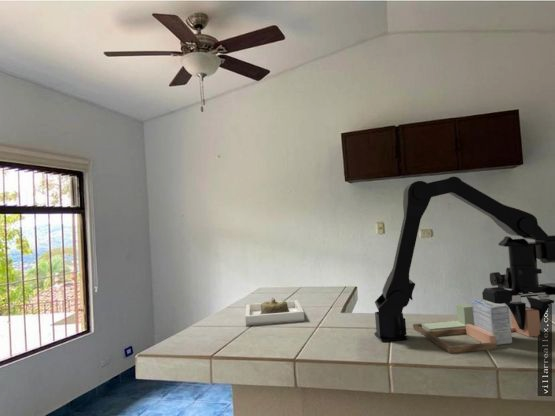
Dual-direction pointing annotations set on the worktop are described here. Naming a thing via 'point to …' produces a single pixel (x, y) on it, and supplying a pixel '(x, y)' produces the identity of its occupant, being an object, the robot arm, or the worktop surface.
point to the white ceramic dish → (273, 314)
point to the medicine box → (493, 320)
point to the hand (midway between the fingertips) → (528, 328)
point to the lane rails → (445, 346)
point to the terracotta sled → (529, 329)
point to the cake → (274, 307)
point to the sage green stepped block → (463, 318)
